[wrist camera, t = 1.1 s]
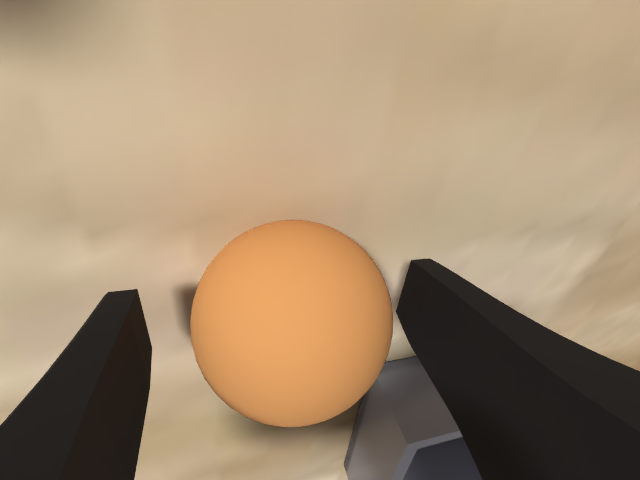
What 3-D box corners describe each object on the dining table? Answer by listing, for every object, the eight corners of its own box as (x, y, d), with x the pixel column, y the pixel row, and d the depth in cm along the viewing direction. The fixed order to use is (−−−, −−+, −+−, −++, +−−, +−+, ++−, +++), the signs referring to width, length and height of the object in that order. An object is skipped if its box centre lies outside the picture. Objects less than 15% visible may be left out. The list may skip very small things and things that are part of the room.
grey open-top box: (535, 334, 18) (594, 395, 16) (475, 429, 24) (512, 488, 21) (371, 364, 16) (407, 444, 13) (343, 464, 21) (365, 536, 18)
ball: (363, 183, 10) (464, 301, 7) (342, 306, 13) (403, 442, 9) (181, 189, 9) (169, 344, 5) (199, 325, 12) (201, 494, 8)
